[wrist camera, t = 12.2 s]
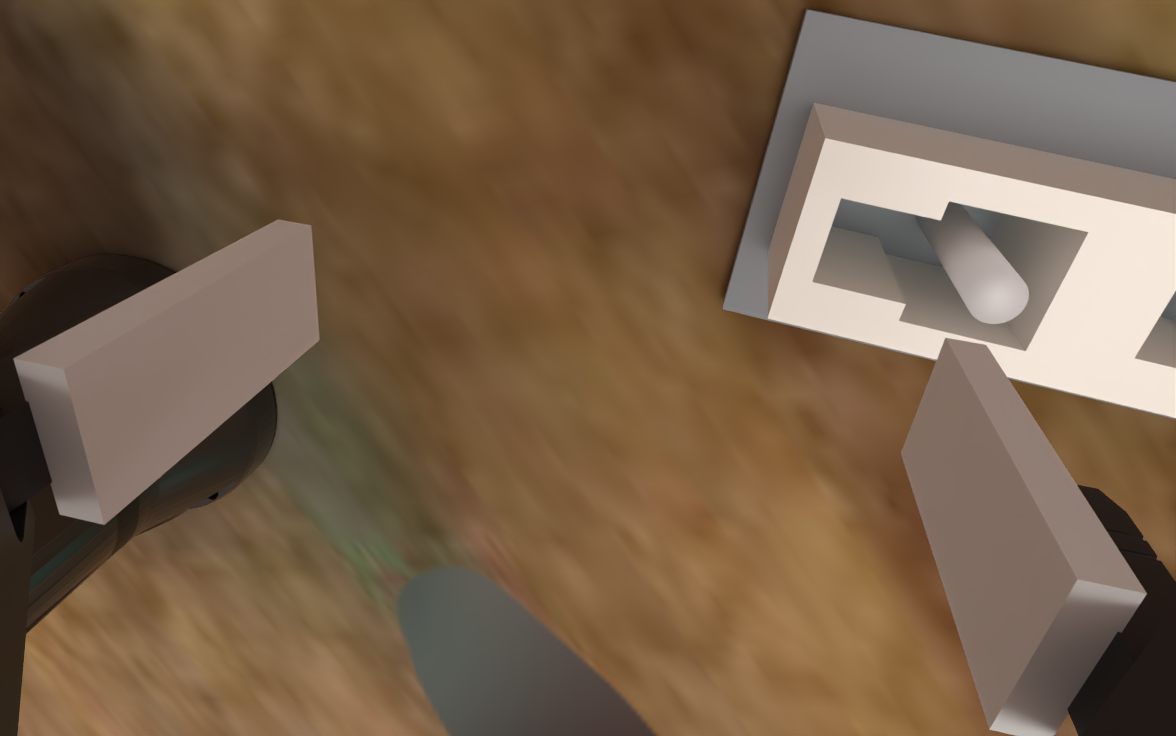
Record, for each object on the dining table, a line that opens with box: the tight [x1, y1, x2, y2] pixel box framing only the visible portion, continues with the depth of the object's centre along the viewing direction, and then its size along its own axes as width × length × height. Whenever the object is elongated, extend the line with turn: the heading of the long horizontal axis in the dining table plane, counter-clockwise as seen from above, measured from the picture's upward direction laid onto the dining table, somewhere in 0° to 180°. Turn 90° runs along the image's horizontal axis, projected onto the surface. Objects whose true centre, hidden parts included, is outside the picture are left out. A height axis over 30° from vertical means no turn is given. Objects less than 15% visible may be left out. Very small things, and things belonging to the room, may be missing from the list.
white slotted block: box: [767, 103, 1176, 418], centre depth 25 cm, size 22×6×7 cm, turn 80°
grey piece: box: [722, 9, 1176, 419], centre depth 25 cm, size 24×12×10 cm, turn 80°
